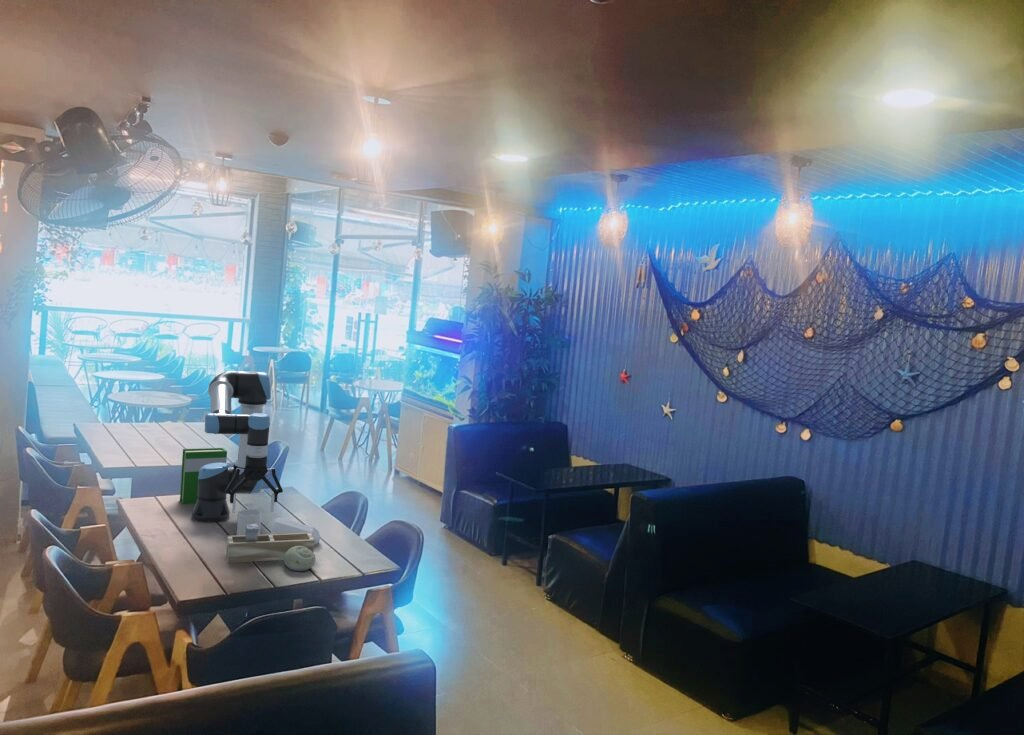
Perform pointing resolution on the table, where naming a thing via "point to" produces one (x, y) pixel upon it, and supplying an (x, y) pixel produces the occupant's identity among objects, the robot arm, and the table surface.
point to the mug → (248, 520)
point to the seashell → (299, 558)
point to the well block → (266, 546)
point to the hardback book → (197, 469)
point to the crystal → (293, 528)
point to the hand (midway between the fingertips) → (253, 511)
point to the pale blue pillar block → (251, 533)
